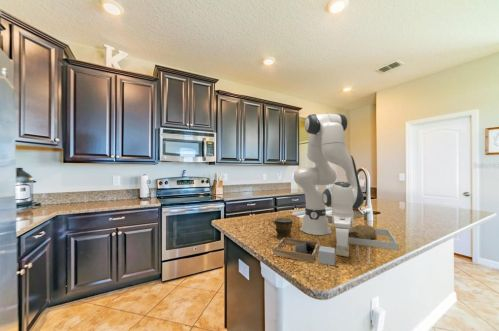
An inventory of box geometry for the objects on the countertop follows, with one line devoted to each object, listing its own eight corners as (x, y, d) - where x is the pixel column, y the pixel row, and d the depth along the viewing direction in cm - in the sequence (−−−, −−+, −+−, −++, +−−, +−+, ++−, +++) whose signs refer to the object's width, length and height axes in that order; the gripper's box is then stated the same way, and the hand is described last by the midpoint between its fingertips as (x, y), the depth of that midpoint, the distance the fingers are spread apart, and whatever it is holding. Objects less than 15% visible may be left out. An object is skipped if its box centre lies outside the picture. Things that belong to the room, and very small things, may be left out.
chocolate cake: (302, 249, 103) (291, 235, 97) (316, 247, 99) (305, 233, 94) (301, 268, 96) (289, 255, 90) (317, 267, 92) (305, 254, 87)
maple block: (336, 250, 98) (336, 239, 98) (348, 252, 95) (348, 241, 95) (336, 254, 93) (336, 243, 93) (348, 256, 91) (348, 245, 91)
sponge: (364, 247, 106) (386, 233, 116) (360, 232, 107) (381, 219, 117) (343, 244, 118) (364, 231, 127) (338, 230, 118) (360, 218, 128)
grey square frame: (342, 230, 132) (342, 225, 132) (388, 235, 121) (388, 229, 122) (341, 242, 110) (341, 236, 110) (397, 249, 100) (397, 243, 100)
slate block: (320, 257, 91) (320, 245, 91) (335, 260, 89) (335, 248, 89) (318, 263, 86) (318, 250, 86) (334, 266, 83) (334, 253, 83)
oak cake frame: (283, 243, 109) (283, 237, 109) (318, 248, 102) (318, 242, 102) (272, 256, 93) (272, 249, 93) (313, 263, 86) (313, 255, 86)
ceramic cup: (291, 235, 122) (291, 217, 123) (293, 240, 113) (293, 222, 113) (269, 234, 124) (269, 217, 124) (269, 240, 114) (269, 221, 114)
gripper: (336, 213, 105) (336, 241, 105) (333, 223, 87) (333, 257, 86) (350, 214, 102) (350, 243, 102) (350, 225, 84) (350, 260, 84)
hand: (342, 249), depth 94 cm, fingers closed on maple block, 5 cm apart
